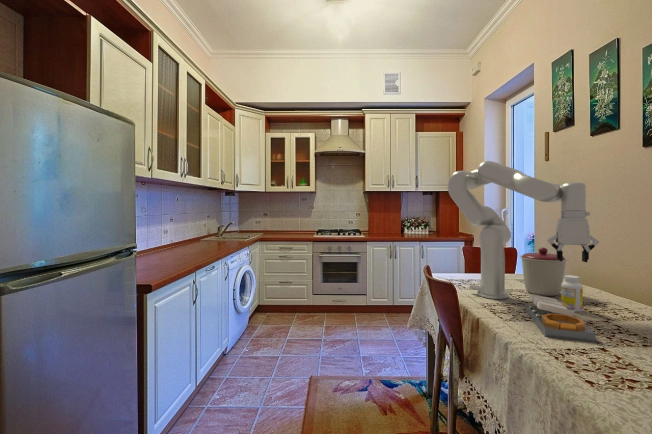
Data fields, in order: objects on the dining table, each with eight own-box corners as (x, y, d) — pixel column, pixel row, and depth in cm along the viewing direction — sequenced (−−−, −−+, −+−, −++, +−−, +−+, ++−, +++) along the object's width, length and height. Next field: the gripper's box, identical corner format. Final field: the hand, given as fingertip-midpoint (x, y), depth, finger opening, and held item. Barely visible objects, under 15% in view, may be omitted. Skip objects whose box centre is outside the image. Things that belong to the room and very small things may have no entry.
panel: (545, 336, 100) (545, 323, 100) (526, 311, 125) (526, 300, 125) (595, 342, 96) (595, 328, 96) (565, 314, 120) (565, 303, 120)
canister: (573, 300, 139) (574, 250, 138) (524, 296, 145) (524, 249, 144) (559, 290, 156) (560, 246, 155) (516, 287, 162) (516, 244, 161)
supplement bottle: (575, 307, 129) (575, 274, 129) (586, 312, 123) (587, 278, 122) (557, 306, 130) (557, 274, 130) (567, 312, 123) (568, 278, 123)
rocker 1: (531, 301, 121) (532, 295, 121) (529, 298, 124) (530, 293, 124) (563, 307, 118) (564, 302, 118) (560, 305, 121) (561, 299, 121)
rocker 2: (535, 304, 117) (536, 298, 116) (533, 302, 119) (534, 296, 119) (568, 312, 113) (569, 306, 113) (565, 309, 116) (566, 303, 116)
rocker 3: (538, 308, 112) (540, 302, 112) (536, 306, 115) (537, 300, 115) (573, 316, 109) (574, 310, 108) (570, 313, 111) (571, 307, 111)
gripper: (596, 214, 126) (595, 260, 126) (543, 214, 132) (543, 258, 132) (605, 215, 119) (604, 264, 119) (549, 215, 125) (548, 261, 125)
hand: (572, 260), depth 126 cm, fingers open, 7 cm apart
